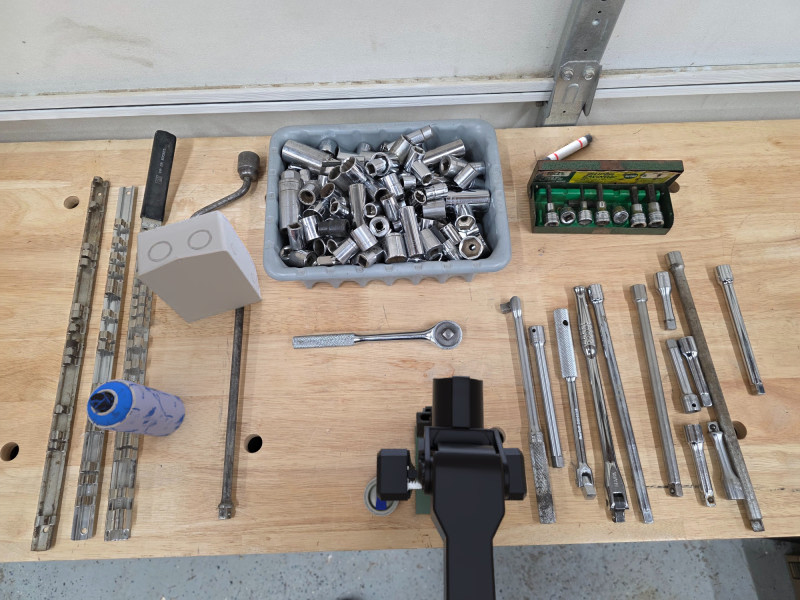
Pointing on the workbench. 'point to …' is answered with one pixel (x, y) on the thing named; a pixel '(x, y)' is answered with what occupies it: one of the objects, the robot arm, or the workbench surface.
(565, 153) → the marker
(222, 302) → the electrical switch box
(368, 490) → the beverage can
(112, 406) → the aerosol can
